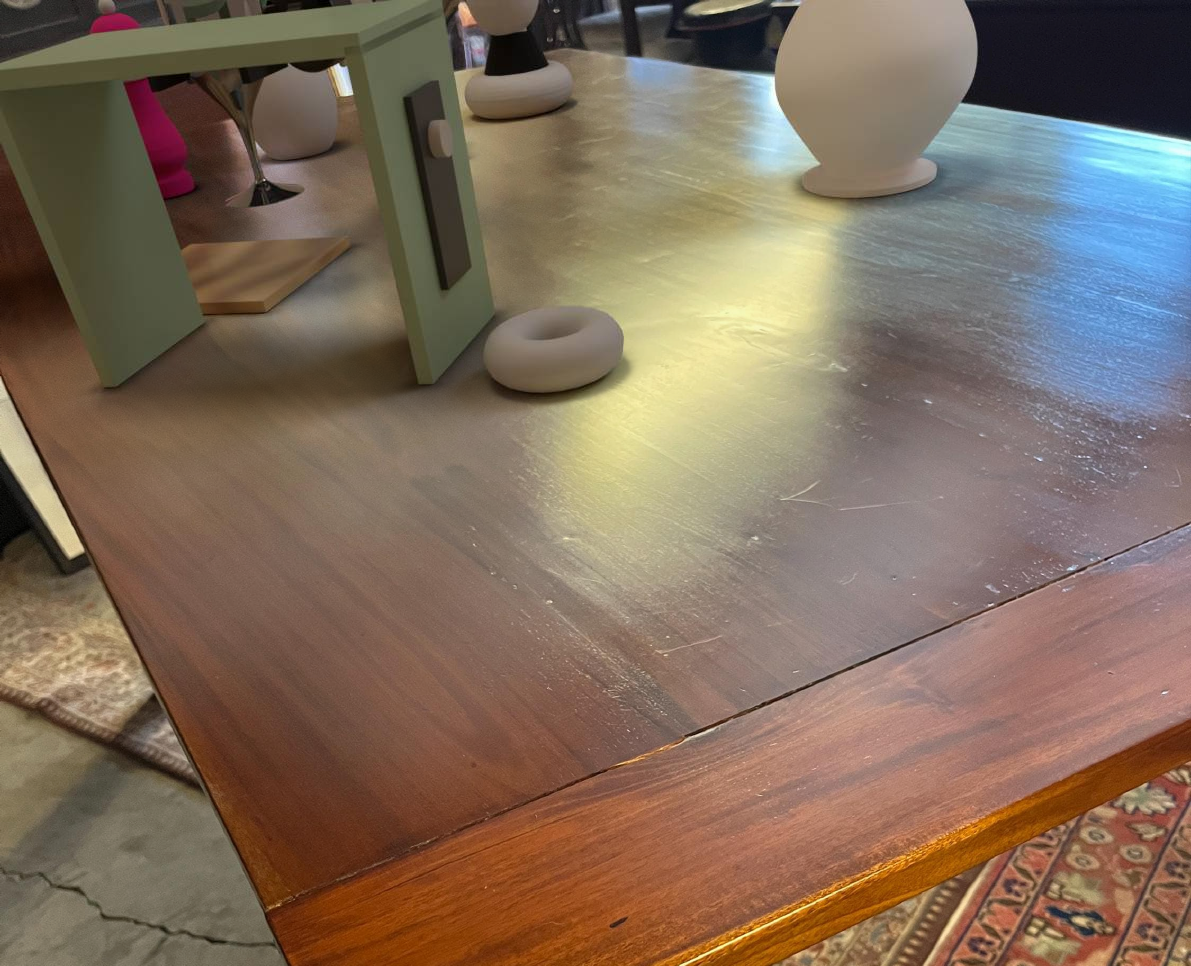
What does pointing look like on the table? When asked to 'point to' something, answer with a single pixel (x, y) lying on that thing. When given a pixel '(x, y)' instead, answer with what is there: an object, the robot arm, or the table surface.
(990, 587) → the table surface
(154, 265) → the cubby
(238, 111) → the wine glass
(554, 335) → the donut
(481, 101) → the decorative figurine
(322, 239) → the cutting board
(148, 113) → the pepper mill
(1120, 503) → the table surface
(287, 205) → the table surface
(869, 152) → the decorative vase
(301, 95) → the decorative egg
